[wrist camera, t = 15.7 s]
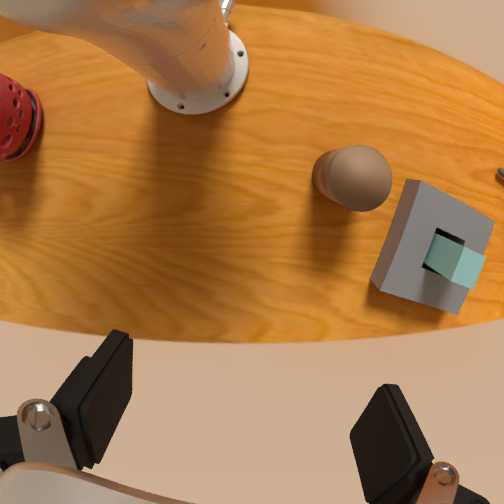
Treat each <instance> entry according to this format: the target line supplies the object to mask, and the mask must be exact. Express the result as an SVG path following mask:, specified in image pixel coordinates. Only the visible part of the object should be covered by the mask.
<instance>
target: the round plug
mask: <svg viewBox="0 0 504 504" xmlns="http://www.w3.org/2000/svg"><path fill="white" fill-rule="evenodd" d="M312 177H313V182H314V185H315V187H316V189H317V190H318V191H319V192H320V193H321V194H322V195H323V196H325V197H326V198H328V199H331V200H333V201H335V202H337V203H339V204H341V205H343V206H345V207H347V208H349V209H351V210H354V211H359V212H365V211H370V210H373V209H375V208H377V207H379V206H380V205H381V204H382V203H383V202H384V201H385V200H386V198H387V197H388V195H389V193H390V190H391V186H392V173H391V169H390V166H389V164H388V162H387V160H386V159H385V157H384V156H383V155H382V154H381V153H380V152H378V151H377V150H376V149H374V148H372V147H369V146H364V145H356V146H351V147H347V148H342V149H338V150H334V151H329V152H327V153H325V154H323V155H322V156H320V157H319V158H318V159H317V161H316V163H315V164H314V167H313V172H312Z"/></svg>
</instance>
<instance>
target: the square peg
mask: <svg viewBox="0 0 504 504" xmlns="http://www.w3.org/2000/svg"><path fill="white" fill-rule="evenodd" d="M485 259H486V257H484V256H482V255H480V254H478V253H476V252H474V251H472V250H470V249H468V248H466V247H464V246H462V245H460V244H458V243H456V242H454V241H451V240H449V239H447V238H445V237H443V236H441V235H438V234H436V233H434V236H433V239H432V241H431V244H430V247H429V249H428V252H427V254H426V257H425V259H424V263H425V264H427V265H428V266H430V267H431V268H432V269H434V270H435V271H437V272H438V273H440V274H441V275H443V276H444V277H445V278H447V279H448V280H450V281H452V282H454V283H457V284H459V285H462V286H465V287H467V288H470V289H472V290H473V288H474V286H475V284H476V281H477V279H478V277H479V274H480V272H481V269H482V267H483V264H484V262H485Z"/></svg>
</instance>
